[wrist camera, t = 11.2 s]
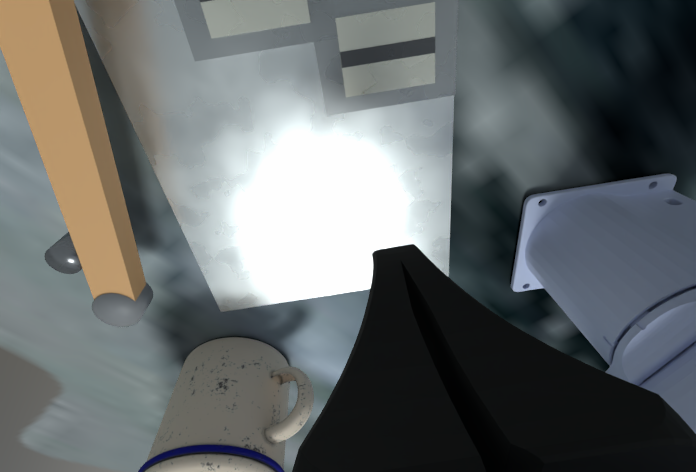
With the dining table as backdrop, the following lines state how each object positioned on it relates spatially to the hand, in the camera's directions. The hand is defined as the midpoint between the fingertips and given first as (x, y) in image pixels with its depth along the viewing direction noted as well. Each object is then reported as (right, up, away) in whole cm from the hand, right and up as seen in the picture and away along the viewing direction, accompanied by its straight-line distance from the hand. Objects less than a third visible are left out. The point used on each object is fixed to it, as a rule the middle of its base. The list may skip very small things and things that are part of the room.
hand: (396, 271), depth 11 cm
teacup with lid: (-9, -9, +18) cm, 22 cm away
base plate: (-7, +6, +8) cm, 12 cm away
